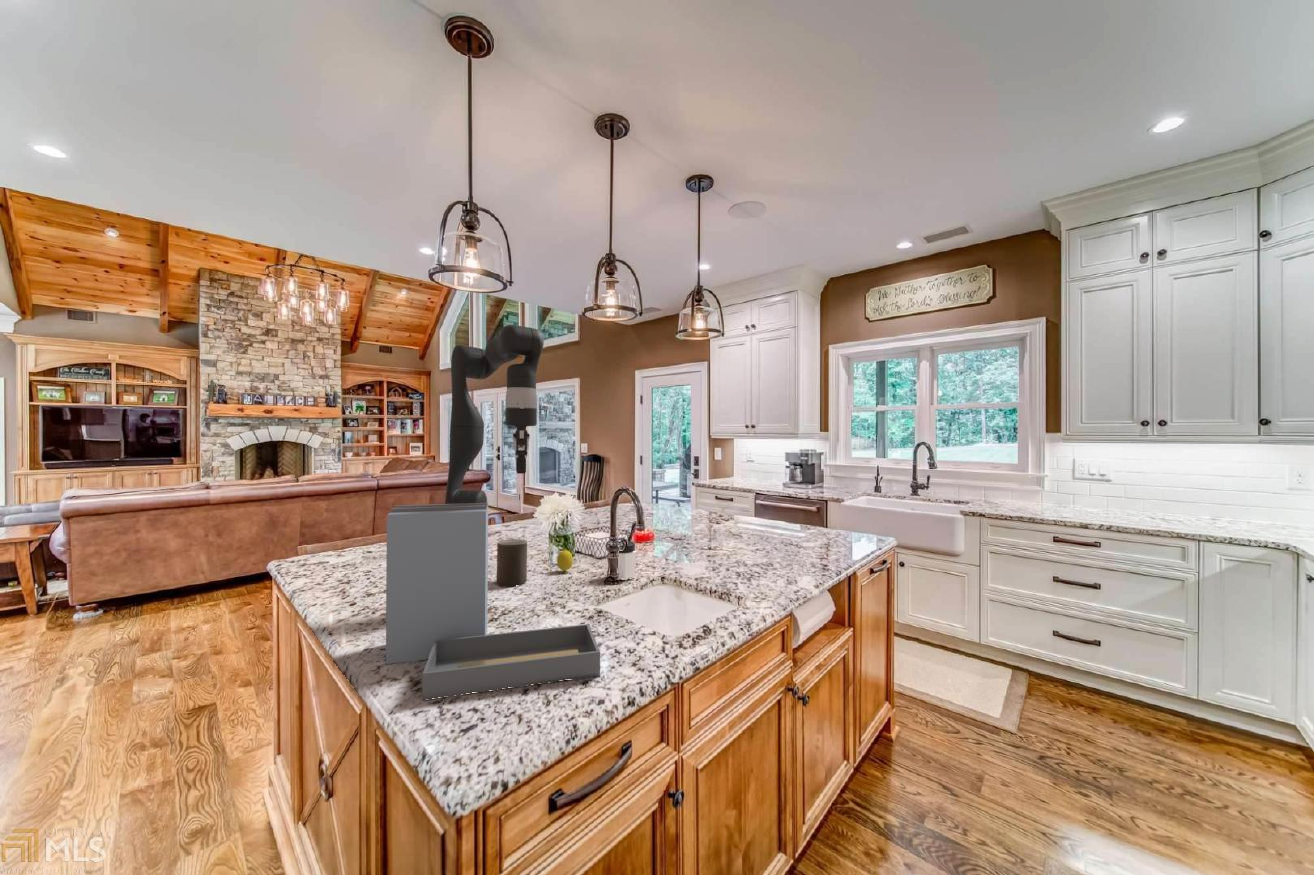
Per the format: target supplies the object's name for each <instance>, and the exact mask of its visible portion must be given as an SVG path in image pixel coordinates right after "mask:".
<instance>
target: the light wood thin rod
mask: <svg viewBox="0 0 1314 875" xmlns="http://www.w3.org/2000/svg"><path fill="white" fill-rule="evenodd" d="M577 653H579V652H578V649H576V650H568V651H560V652H552V653H543V654H535V655H527V656H519V657H511V658H502V659H494V660H486V661H478V662H470V663H461V664H458V666H457V668H463V667H471V666H479V665H487V664H495V663H504V662H512V661H520V660H528V659H536V658H544V657H553V656H561V655H569V654H577Z"/></svg>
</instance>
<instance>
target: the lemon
mask: <svg viewBox="0 0 1314 875" xmlns="http://www.w3.org/2000/svg"><path fill="white" fill-rule="evenodd" d="M556 559H557V560H556V562H557V563H556V564H557V567H558V569H560V570H561V571H563V572H564V571H566V572H567V571H568V570H570V569H571V568H572V566H573V562H574V561H573V560H574V558H573V555H572V553H571V552H570V551H569V550H567V549H563V550H562V551H560V552H559V554H558V555H557V558H556Z"/></svg>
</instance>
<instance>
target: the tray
mask: <svg viewBox="0 0 1314 875" xmlns="http://www.w3.org/2000/svg"><path fill="white" fill-rule="evenodd" d="M576 649H578V652H579V653H577V654H569V655H561V656H553V657H544V658H536V659H528V660H520V661H512V662H504V663H495V664H487V665H479V666H471V667H463V668H457V666H458V664H461V663H470V662H478V661H486V660H494V659H502V658H511V657H519V656H527V655H535V654H543V653H552V652H560V651H568V650H576ZM594 676H598V677H601V651H600V648H599V645H598V643H597V641H596V639H595V635H594V633H593V631H592V628H591V627H590V624H589V623H586V624H578V625H577V624H576V625H568V626H567V625H565V626H558V627H557V626H556V627H548V628H547V627H546V628H538V629H527V630H521V631H520V630H519V631H510V632H508V631H507V632H501V633H493V634H491V633H489V634H487V635H480V636H471V637H461V638H452V639H442V640H435V641H434V644H433V646H432V649H431V652H430V655H429V657H428V660H427V661H426V663H425V666H424V669H423V671H422V674H421V677H422V678H421V679H422V687H421V688H422V689H421V692H422V695H421V697H422V698H421V700H425V701H427V700H426V699H432V698H438V697H444V696H454V695H461V694H466V693H472V692H483V693H485V692H484V691H489V690H497V689H502V688H508V687H519V688H522V687H521V686H526V685H531V684H538V683H548V682H555V681H559V680H565V679H577V680H584V679H589V677H591V678H595V677H594ZM583 678H584V679H583ZM555 683H556V682H555ZM548 684H549V683H548ZM526 687H527V686H526ZM497 691H498V690H497ZM461 696H462V695H461ZM454 697H455V696H454ZM432 700H433V699H432Z"/></svg>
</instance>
